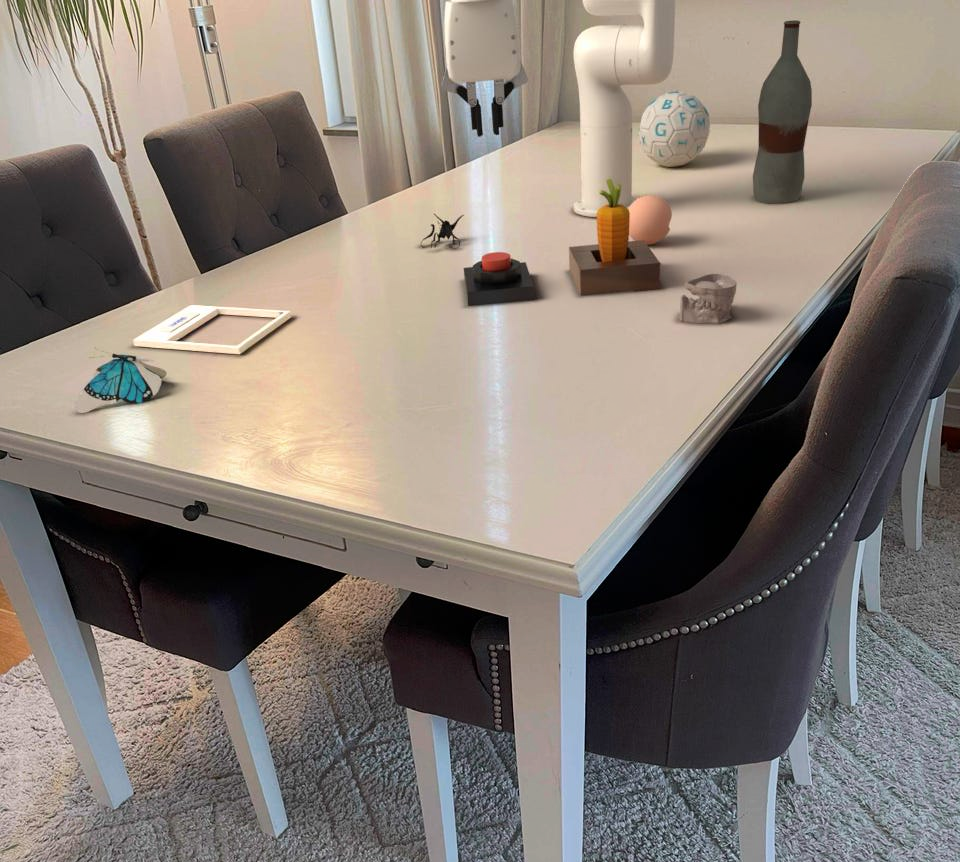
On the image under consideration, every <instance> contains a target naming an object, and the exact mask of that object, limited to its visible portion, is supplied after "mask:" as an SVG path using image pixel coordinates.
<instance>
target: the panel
mask: <svg viewBox="0 0 960 862" xmlns="http://www.w3.org/2000/svg"><path fill="white" fill-rule="evenodd" d="M520 261H521V260H518V259H515V258H511V267H510V268H507V269H504V270H495V271H491V270H484V269H482V260H480V261H477V262H476V263H474V264H473V265H472V266H467V267H463V279H464V287H465V293H466V294H465V295H466V300H467V301H466V302H467V306H468V307H474V306H484V305H485V306H486V305H495V304H506V303H507V304H508V303H517V302H529V301H535V289H534V288H535V286H534V283H533V280H532V277H531V274H530V271H529V267H528V265H527V262H526V261H525V262H520Z"/></svg>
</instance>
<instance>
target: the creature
mask: <svg viewBox="0 0 960 862" xmlns="http://www.w3.org/2000/svg"><path fill="white" fill-rule="evenodd" d="M433 215H434V216H435V217H436V219H438V220H439V221H440V222H441V223H440V222H439V221H438V220H436V222H437V224H438V225H440V226H439V227H438V229H439V232H435V229H436V227H435V224H433V223H431V224H430V226H431V227H432V229H431V232H430V233H429V234H428V235H427V236H425V237H424V238H423V239H422V240H421V241H420V247H421V248H427V247H430V248H431V249H432V248H433V244H434V249H436V248H437V243H440V242H441V239H446V238H447V240H449V239H450V238H452V245H454V244H456V243H455V240H457V242H458V246H457V247H455V248H454V247H452V245H448V247H450V249H452V250H456V249H458V248H459V247H460V246H461V241H460V239H459V237H457V236H456V235H455V234H454V232H453V231H454V230H455V228H456V227H457V225H458V222H459V221H460V219H462V218H463V217H464V216H465V214H461V215H460V216H459V217H458V218H457V219H456V220H455V221H454V223H452V224H451V223H450V221H448V220H443V219H441V218H440V217H439V216H438V215H437V214H436V213H433ZM431 237H433V239H432V240H431V244H429V245H425V246H424V245H422V243H423V241H425V240H427V239H428V238H429V239H430V238H431ZM436 237H437V240H436Z"/></svg>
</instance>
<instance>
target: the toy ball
mask: <svg viewBox="0 0 960 862" xmlns="http://www.w3.org/2000/svg"><path fill="white" fill-rule="evenodd" d="M636 199H637V200H635V201H634V202H633V203H632V204H631V205H630V207H629V208H628V210H629V212H630V225H629V238H631V239H632V240H633V241H640V240H644V241H645V242H646V244H647V245H655V244H656V243H659V242H661V241H662V240H664V238H665V237H667V235H668V234H669V232H670V230H671V228H670V223H671V221H672V216H673V213H672V209H671V207H670V205H669V203H668V202H667V201H666V200H665V199H663V198H661V197H660V196H657V195H652V194H651V195H649V194H647V195H643V196H641V197H638V198H636Z"/></svg>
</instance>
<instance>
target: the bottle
mask: <svg viewBox="0 0 960 862" xmlns="http://www.w3.org/2000/svg"><path fill="white" fill-rule="evenodd" d="M800 25H801V21H800V20H797V19H796V20H785V21H784V22H783V35H782V41H781V42H782V43H781V52H780V53H781V54H780V56H779V58H778V59H777V61H776V63H775V64H774V66H773V68H772V69H771V70H770V72H769V73H768V75H767V77H766V78H765V80H764V81H763V83H762V86H761V89H760V94H759V99H758V105H757V110H758V113H757V114H758V115H757V116H758V147H757V148H758V150H757V153H756V158H755V162H754V167H753V173H752V191H753V197H754V200H755V201H756V202H759V203H764V204H771V205H772V204H773V205H776V204H777V205H780V204H788V203H793V202H796V201H798V200H799V198H800V196H801V193H802V191H803V186H804V182H805V151H804V150H805V144H806V138H807V132H808V125H809V120H810V115H811V110H812V107H813V92H812V91H813V89H812V83H811V79H810V77H809V76H808V74H807V71H806V70H805V68H804V65H803V64H802V62H801V59H800V58H799V55H798V50H799V38H800V37H799V35H800Z"/></svg>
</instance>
